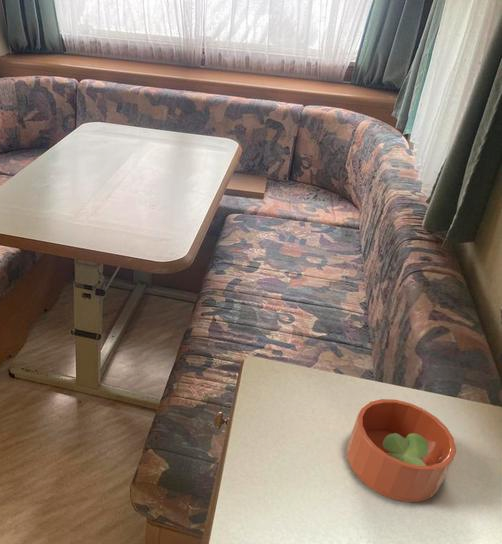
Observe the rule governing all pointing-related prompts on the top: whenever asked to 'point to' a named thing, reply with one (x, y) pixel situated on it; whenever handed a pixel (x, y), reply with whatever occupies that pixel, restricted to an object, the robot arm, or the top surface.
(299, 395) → the top surface
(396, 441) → the green leafy piece
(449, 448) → the planter
